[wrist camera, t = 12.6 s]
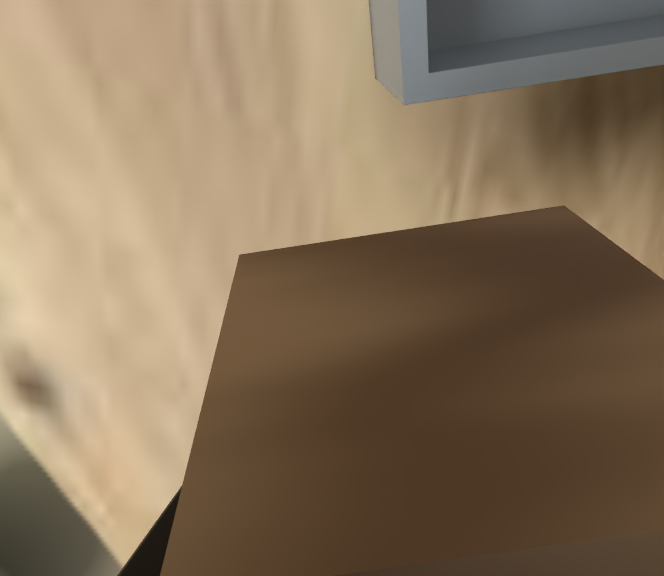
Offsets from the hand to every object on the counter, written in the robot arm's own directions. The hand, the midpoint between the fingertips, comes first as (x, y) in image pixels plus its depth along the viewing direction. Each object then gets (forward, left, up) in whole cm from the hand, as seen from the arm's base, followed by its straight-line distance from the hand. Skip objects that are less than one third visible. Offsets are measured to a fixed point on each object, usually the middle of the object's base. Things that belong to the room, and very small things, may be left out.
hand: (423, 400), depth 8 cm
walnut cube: (0, 0, -1) cm, 1 cm away
